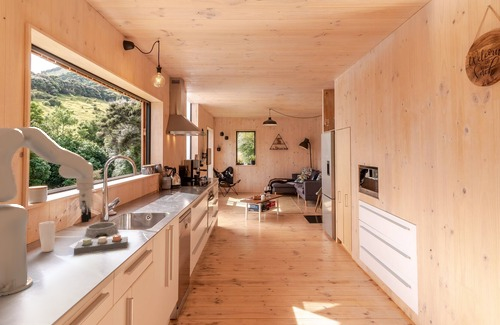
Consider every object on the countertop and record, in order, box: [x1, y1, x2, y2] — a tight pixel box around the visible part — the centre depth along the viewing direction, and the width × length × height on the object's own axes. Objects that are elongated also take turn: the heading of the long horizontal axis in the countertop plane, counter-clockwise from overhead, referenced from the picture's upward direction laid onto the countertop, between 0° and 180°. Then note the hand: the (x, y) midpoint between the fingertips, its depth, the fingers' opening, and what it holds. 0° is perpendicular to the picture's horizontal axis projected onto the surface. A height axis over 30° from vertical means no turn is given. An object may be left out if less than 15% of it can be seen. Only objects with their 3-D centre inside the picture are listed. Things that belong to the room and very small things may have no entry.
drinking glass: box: [38, 220, 56, 253], centre depth 138 cm, size 7×7×15 cm
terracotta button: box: [112, 234, 122, 242], centre depth 144 cm, size 4×4×3 cm
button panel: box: [73, 236, 129, 255], centre depth 142 cm, size 10×24×3 cm, turn 112°
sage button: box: [82, 237, 93, 246], centre depth 139 cm, size 4×4×3 cm
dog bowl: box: [84, 221, 119, 239], centre depth 169 cm, size 17×18×5 cm
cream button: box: [97, 236, 108, 244], centre depth 142 cm, size 4×4×3 cm
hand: (86, 220), depth 139 cm, fingers open, 6 cm apart
